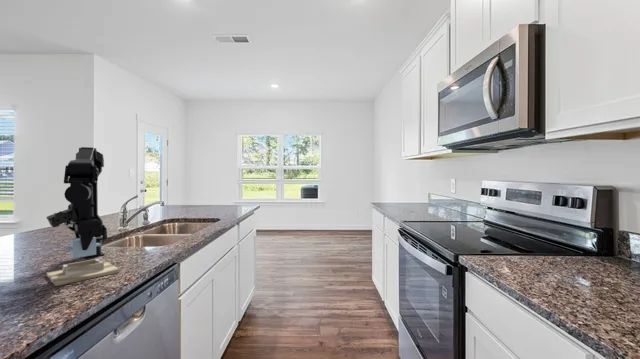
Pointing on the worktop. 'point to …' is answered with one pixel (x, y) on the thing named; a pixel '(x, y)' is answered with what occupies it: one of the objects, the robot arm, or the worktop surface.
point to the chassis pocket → (81, 271)
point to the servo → (77, 249)
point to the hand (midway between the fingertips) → (83, 249)
